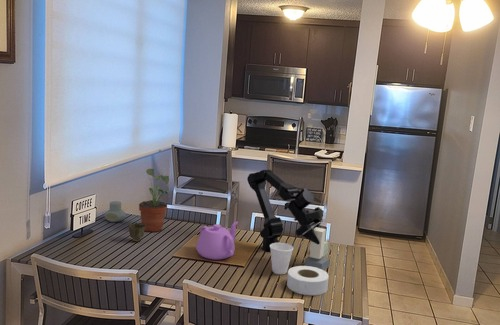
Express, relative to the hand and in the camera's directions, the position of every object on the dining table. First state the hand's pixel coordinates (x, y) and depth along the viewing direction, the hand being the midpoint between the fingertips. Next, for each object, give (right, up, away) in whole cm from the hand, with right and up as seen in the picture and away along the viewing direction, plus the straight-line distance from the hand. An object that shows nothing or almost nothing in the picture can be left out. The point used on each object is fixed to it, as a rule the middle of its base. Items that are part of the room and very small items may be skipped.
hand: (320, 242), depth 190 cm
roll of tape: (-8, -14, -18) cm, 24 cm away
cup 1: (-84, -3, +18) cm, 86 cm away
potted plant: (-80, 0, +38) cm, 88 cm away
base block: (-1, -11, +3) cm, 12 cm away
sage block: (+3, -9, +19) cm, 21 cm away
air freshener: (-103, +3, +47) cm, 113 cm away
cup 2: (-18, -11, -6) cm, 22 cm away
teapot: (-44, -7, +10) cm, 46 cm away
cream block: (-2, -6, +2) cm, 7 cm away
